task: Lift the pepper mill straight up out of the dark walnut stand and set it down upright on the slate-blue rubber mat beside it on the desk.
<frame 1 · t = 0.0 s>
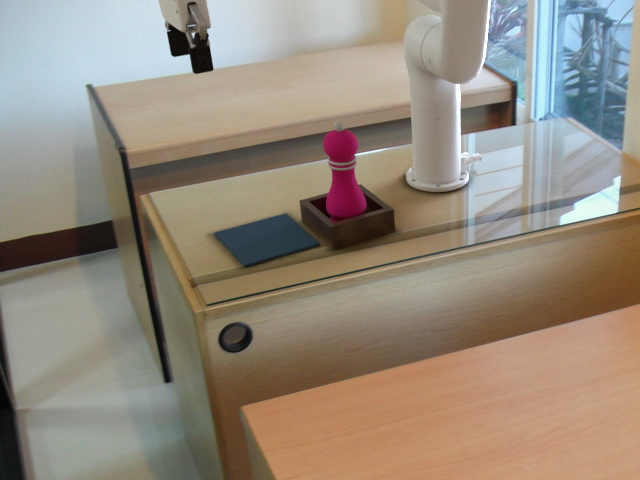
hand: (192, 63, 150), 31 cm above the table, tool pointing down, fingers open, 9 cm apart
mat: (266, 240, 168), on the table
pepper mill: (348, 228, 172), resting in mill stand
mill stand: (348, 227, 172), on the table
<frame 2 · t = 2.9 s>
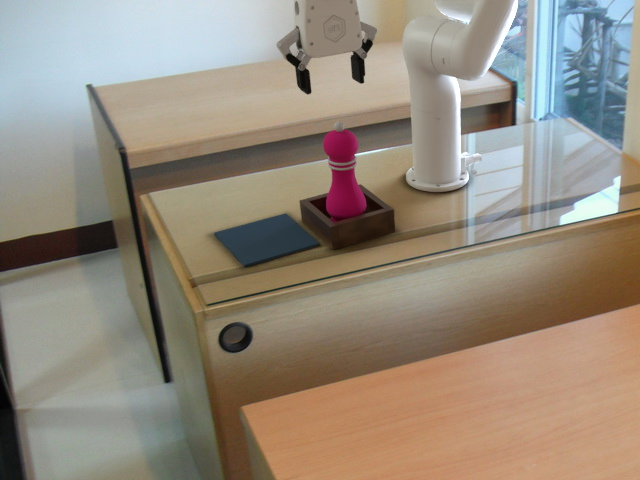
hand: (332, 86, 156), 26 cm above the table, tool pointing down, fingers open, 9 cm apart
nothing on the table moved.
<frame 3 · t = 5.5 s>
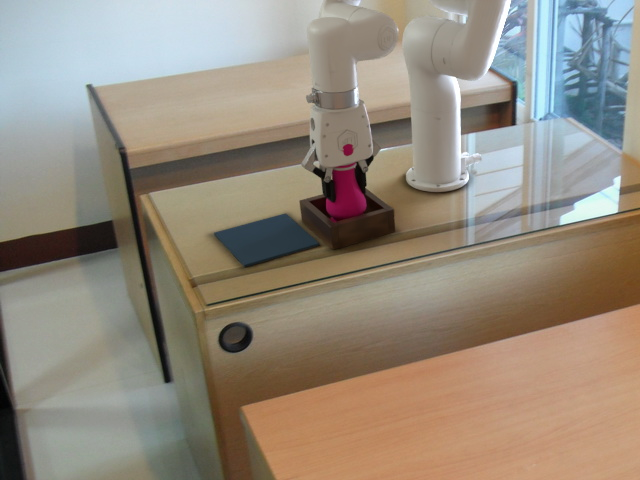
hand: (345, 194, 168), 7 cm above the table, tool pointing down, fingers closed on pepper mill, 5 cm apart
pepper mill: (348, 228, 172), resting in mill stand, touching gripper
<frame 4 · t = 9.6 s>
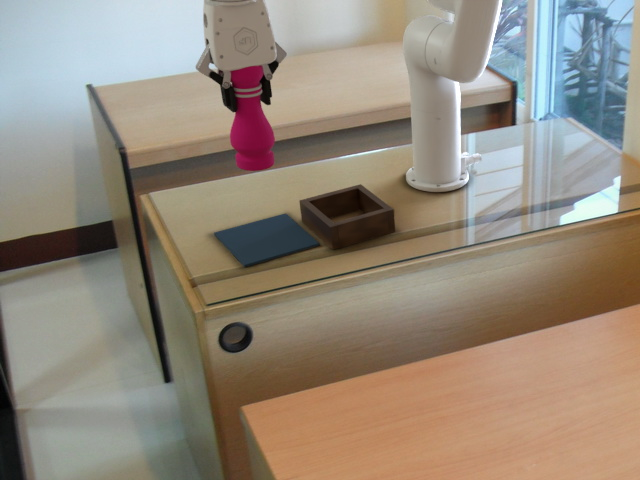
hand: (248, 105, 153), 25 cm above the table, tool pointing down, fingers closed on pepper mill, 5 cm apart
pepper mill: (255, 165, 159), point 14 cm above the table, touching gripper
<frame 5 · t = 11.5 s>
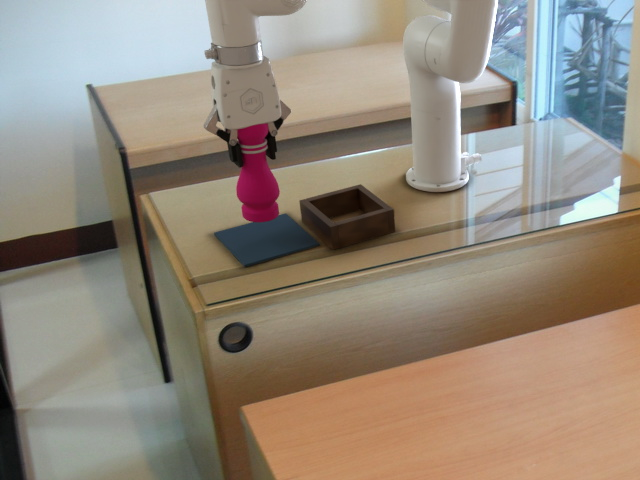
hand: (254, 159, 159), 15 cm above the table, tool pointing down, fingers closed on pepper mill, 5 cm apart
pepper mill: (261, 215, 164), point 5 cm above the table, touching gripper
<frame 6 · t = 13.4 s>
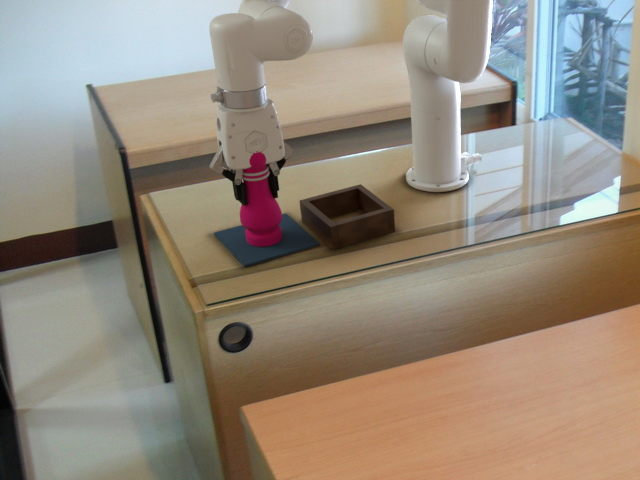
hand: (257, 198, 162), 8 cm above the table, tool pointing down, fingers closed on pepper mill, 4 cm apart
pepper mill: (264, 239, 167), resting on mat, touching gripper
when the fingers open (8 cm above the table, at t = 13.4 s): pepper mill stays where it is, resting on mat.
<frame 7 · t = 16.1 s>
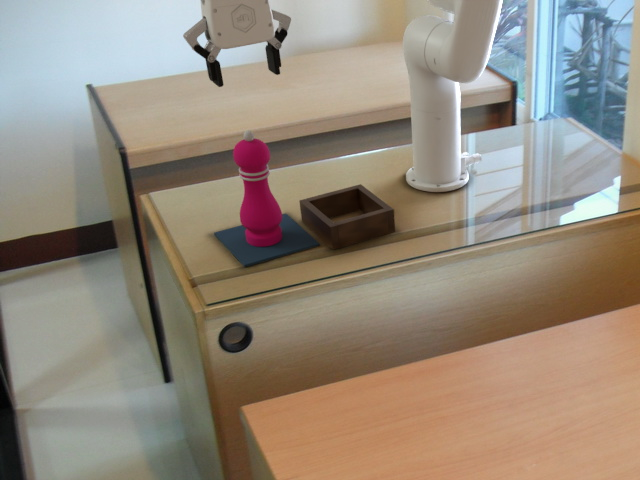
hand: (246, 78, 151), 29 cm above the table, tool pointing down, fingers open, 9 cm apart
pepper mill: (264, 239, 167), resting on mat
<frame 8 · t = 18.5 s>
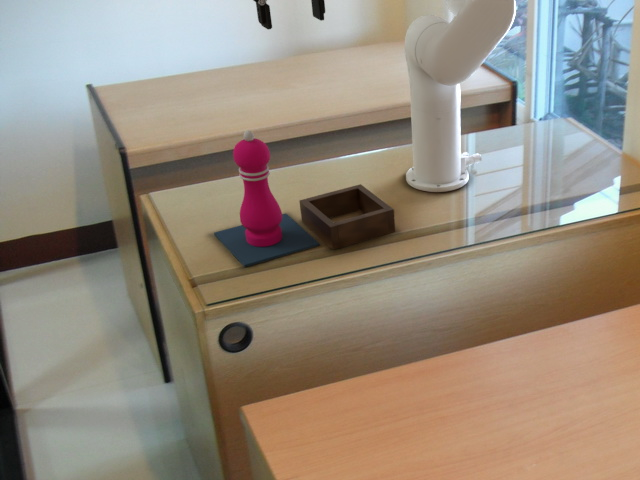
hand: (293, 22, 161), 33 cm above the table, tool pointing down, fingers open, 9 cm apart
nothing on the table moved.
at the end: pepper mill inside the target area on the mat (0.4 cm from its centre), point 0.3 cm above the mat's base; pepper mill tilted 0°; the gripper is holding nothing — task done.
